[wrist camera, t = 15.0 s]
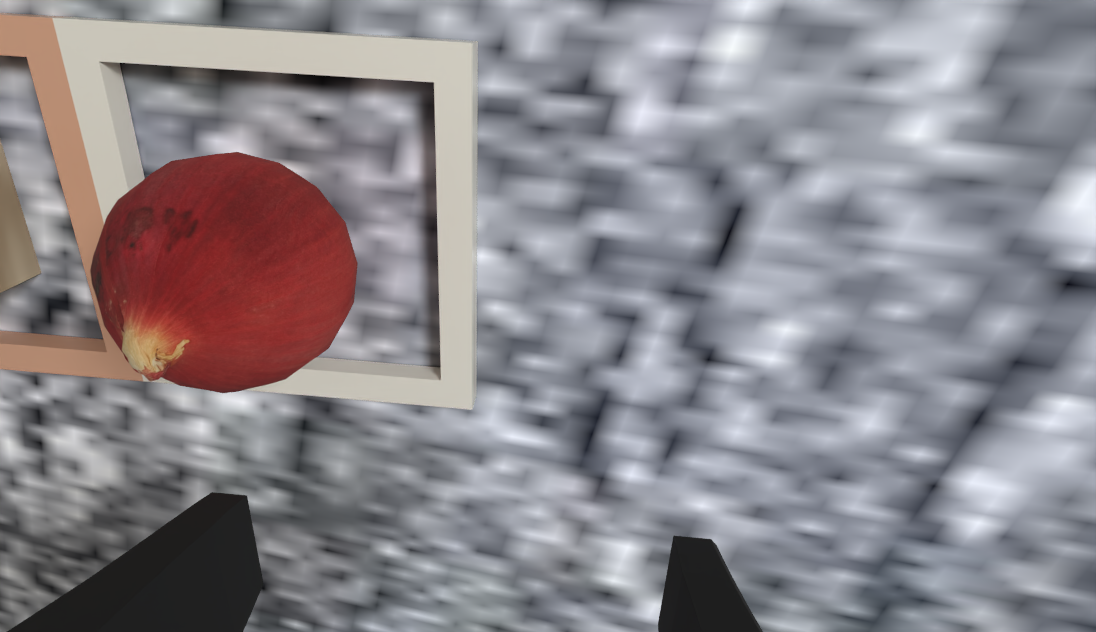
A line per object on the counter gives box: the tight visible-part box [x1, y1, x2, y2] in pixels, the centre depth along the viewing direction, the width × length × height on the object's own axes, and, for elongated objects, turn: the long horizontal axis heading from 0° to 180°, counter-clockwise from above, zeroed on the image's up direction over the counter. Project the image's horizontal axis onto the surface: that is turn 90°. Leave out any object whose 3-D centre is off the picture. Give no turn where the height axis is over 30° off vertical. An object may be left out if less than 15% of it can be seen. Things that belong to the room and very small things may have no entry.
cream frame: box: [52, 17, 478, 410], centre depth 20 cm, size 11×11×1 cm
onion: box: [90, 152, 357, 393], centre depth 16 cm, size 6×6×8 cm
